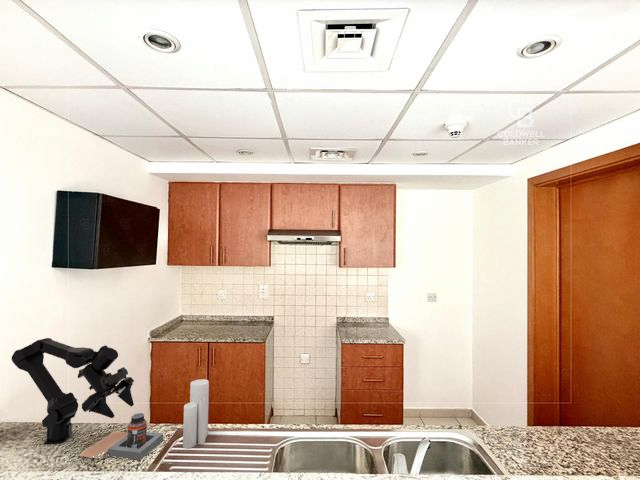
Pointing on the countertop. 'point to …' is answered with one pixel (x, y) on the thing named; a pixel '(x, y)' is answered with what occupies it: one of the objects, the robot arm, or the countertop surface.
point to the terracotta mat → (104, 444)
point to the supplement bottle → (137, 431)
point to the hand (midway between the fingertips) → (123, 411)
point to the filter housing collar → (135, 453)
